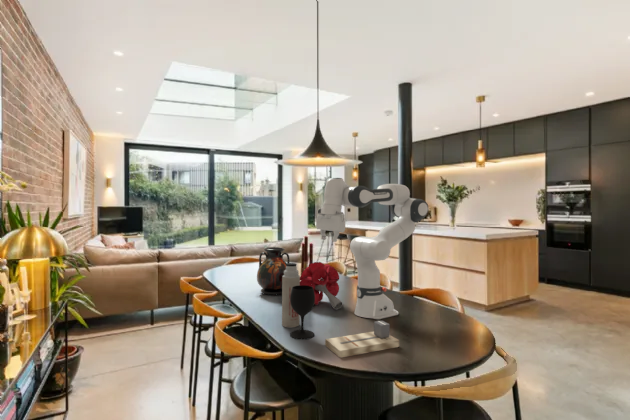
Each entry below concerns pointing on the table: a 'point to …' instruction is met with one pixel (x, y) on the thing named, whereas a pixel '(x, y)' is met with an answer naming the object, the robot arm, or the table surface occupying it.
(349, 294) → the table surface
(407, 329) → the table surface
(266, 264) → the amphora vase
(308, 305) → the wine glass
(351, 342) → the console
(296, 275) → the thermos bottle
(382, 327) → the fader
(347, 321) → the table surface
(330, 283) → the bouquet
